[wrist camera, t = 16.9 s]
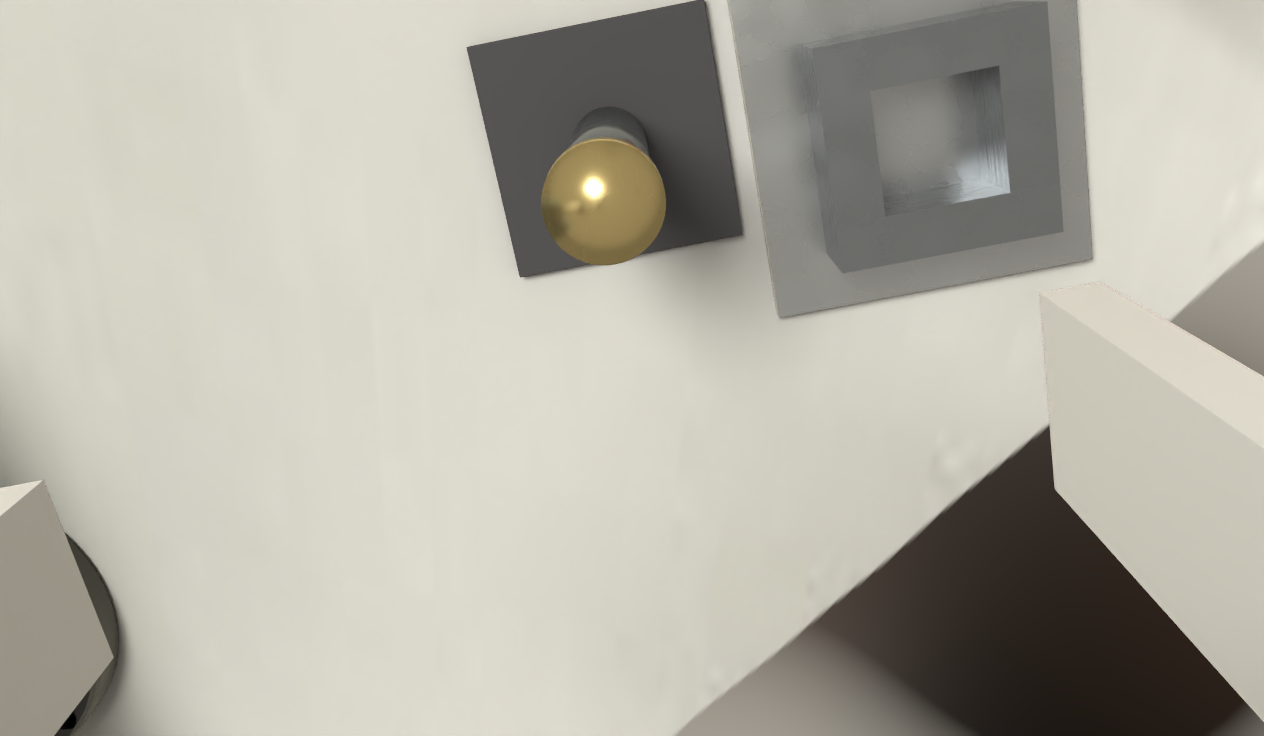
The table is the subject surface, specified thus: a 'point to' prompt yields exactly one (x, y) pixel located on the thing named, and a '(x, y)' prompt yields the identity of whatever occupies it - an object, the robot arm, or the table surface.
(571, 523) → the table surface
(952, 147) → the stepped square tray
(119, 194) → the table surface
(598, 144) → the gold capped cylinder
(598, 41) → the mat
